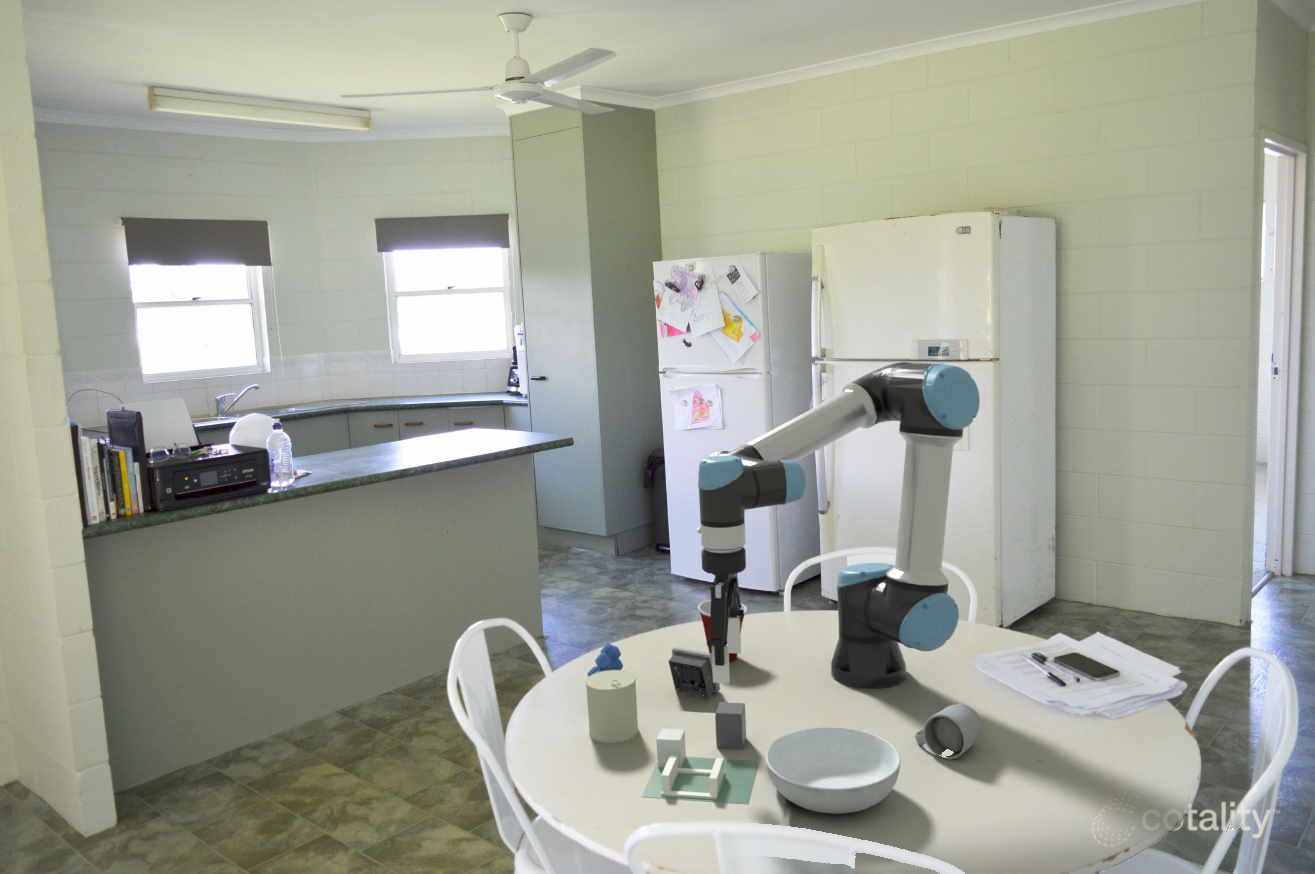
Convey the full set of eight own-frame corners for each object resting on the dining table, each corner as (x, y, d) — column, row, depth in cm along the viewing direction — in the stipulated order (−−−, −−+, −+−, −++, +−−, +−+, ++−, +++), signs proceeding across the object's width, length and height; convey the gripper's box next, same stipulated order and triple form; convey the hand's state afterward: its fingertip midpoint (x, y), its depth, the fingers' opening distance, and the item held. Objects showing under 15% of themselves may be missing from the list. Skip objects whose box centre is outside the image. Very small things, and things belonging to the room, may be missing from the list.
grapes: (600, 690, 199) (596, 634, 197) (631, 693, 197) (627, 636, 195) (577, 714, 188) (573, 655, 186) (609, 717, 186) (606, 657, 184)
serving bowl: (785, 757, 167) (784, 719, 166) (910, 774, 159) (909, 734, 158) (750, 818, 148) (748, 776, 147) (889, 842, 140) (888, 797, 139)
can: (601, 755, 171) (597, 691, 169) (581, 736, 179) (577, 674, 177) (648, 742, 175) (644, 679, 173) (626, 723, 183) (622, 663, 181)
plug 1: (685, 757, 165) (684, 729, 164) (681, 768, 161) (679, 740, 161) (663, 755, 166) (661, 728, 165) (657, 766, 162) (656, 738, 162)
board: (759, 769, 163) (758, 743, 162) (748, 812, 149) (747, 785, 149) (660, 763, 167) (659, 738, 166) (641, 805, 153) (640, 778, 152)
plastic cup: (735, 671, 206) (732, 616, 204) (691, 663, 211) (688, 610, 210) (757, 653, 215) (755, 601, 213) (714, 646, 220) (712, 595, 219)
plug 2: (746, 745, 172) (744, 703, 170) (743, 757, 167) (741, 714, 166) (719, 744, 173) (718, 701, 171) (715, 756, 168) (713, 712, 167)
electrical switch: (721, 692, 195) (717, 649, 193) (708, 704, 191) (704, 660, 189) (681, 684, 200) (677, 642, 198) (668, 695, 196) (663, 653, 194)
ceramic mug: (985, 746, 167) (984, 703, 166) (965, 764, 161) (964, 720, 160) (927, 731, 174) (925, 691, 173) (906, 749, 168) (905, 707, 167)
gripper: (713, 529, 177) (717, 640, 180) (687, 567, 153) (692, 694, 156) (754, 529, 176) (757, 642, 179) (734, 567, 152) (739, 696, 155)
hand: (727, 666), depth 168 cm, fingers open, 13 cm apart
